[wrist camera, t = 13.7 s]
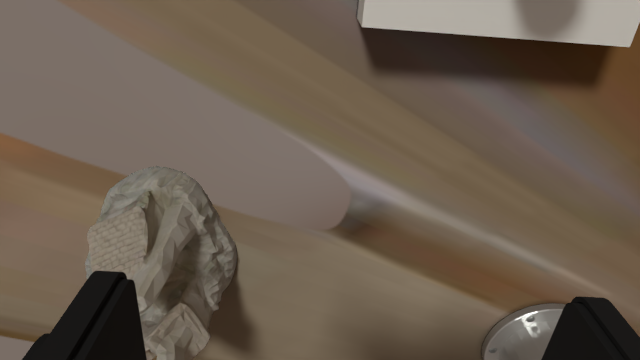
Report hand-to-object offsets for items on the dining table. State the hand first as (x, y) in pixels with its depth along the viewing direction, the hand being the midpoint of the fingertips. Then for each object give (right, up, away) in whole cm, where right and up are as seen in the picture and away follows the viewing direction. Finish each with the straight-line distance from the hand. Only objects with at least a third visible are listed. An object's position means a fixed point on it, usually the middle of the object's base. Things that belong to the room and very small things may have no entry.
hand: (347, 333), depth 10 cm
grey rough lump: (-17, -3, +34) cm, 38 cm away
